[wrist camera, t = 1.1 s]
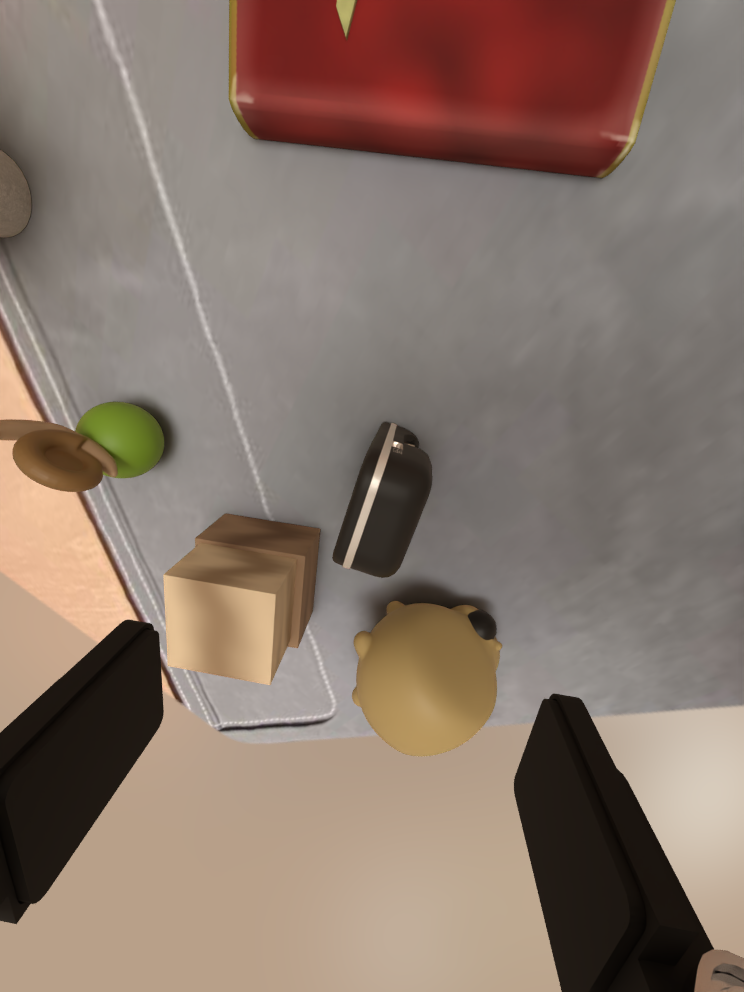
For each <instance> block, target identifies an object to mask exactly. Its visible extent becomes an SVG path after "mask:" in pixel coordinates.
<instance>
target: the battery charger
mask: <svg viewBox="0 0 744 992" xmlns="http://www.w3.org/2000/svg"><path fill="white" fill-rule="evenodd" d="M418 447H419V443H418V439H417V438H416V436H415V435H414V434H413V433H411V432H410V431H408V430H406V429H405V428H402V427H399V426H397V424H394V423H391V424H390V423H387V422H384V423H382V424H381V426H380V428H379V430H378V432H377V434H376V436H375V437H374V439H373V441H372V443H371V445H370V447H369V449H368V451H367V454H366V456H365V458H364V461H363V464H362V466H361V469H360V472H359V475H358V478H357V481H356V484H355V487H354V490H353V493H352V496H351V500H350V503H349V506H348V509H347V512H346V515H345V518H344V521H343V524H342V527H341V530H340V533H339V536H338V540H337V543H336V546H335V549H334V552H333V557H332V558H333V561H334V562H335V563H338V564H340V565H343V566H342V567H344V568H347V569H350V568H352V569H355V570H358V571H361V572H364V573H367V574H370V575H373V576H377V577H381V578H383V577H389V576H391V575H393V574H395V573H396V571H397V570H398V569H399V568H400V566H401V564H402V561H403V559H404V557H405V554H406V552H407V549H408V547H409V544H410V542H411V539H412V537H413V534H414V532H415V529H416V527H417V524H418V522H419V519H420V516H421V514H422V511H423V509H424V506H425V504H426V501H427V499H428V496H429V493H430V490H431V486H432V465H431V462H430V459H429V457H428V455H427V454H426V453H425V452H424V451H423V450H421V449H418Z"/></svg>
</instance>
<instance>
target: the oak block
mask: <svg viewBox="0 0 744 992" xmlns="http://www.w3.org/2000/svg"><path fill="white" fill-rule="evenodd" d="M296 562H297V559H294V558H288V557H282V556H276V555H270V554H264V553H259V552H253V551H247V550H241V549H235V548H229V547H223V546H217V545H211V544H205V543H200V544H199V545H198V546H196V547H195V548H194V549H193V550H192V551H191V552H189V553H188V554H187V555H186V556H185V557H184V558H182V559H181V560H180V561H179V562H178V563H177V564H175V565H174V566H173V567H172V568H171V569H170V570H168V571H167V572H166V573H165V574H164V595H165V616H166V636H167V657H168V666H171V667H176V668H182V669H187V670H192V671H198V672H203V673H208V674H214V675H219V676H224V677H230V678H235V679H240V680H246V681H251V682H256V683H262V684H267V685H271V682H272V680H273V678H274V675H275V673H276V671H277V669H278V666H279V664H280V662H281V660H282V657H283V655H284V653H285V651H286V648H287V646H288V644H289V642H290V638H291V625H292V612H293V600H294V587H295V574H296Z"/></svg>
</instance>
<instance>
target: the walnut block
mask: <svg viewBox="0 0 744 992" xmlns="http://www.w3.org/2000/svg"><path fill="white" fill-rule="evenodd" d="M319 539H320V529H319V528H313V527H306V526H300V525H294V524H288V523H281V522H275V521H269V520H263V519H257V518H250V517H244V516H238V515H232V514H224V515H223V516H222V517H220V518H219V519H218V520H217V521H216V522H214V523H213V524H212V525H211V526H210V527H208V528H207V529H206V530H205V531H203V532H202V533H201V534H200V535H199V536H197V537H196V538H195V547H196V546H198V545H199V544H200V543H205V544H211V545H217V546H223V547H229V548H235V549H241V550H247V551H253V552H259V553H264V554H270V555H276V556H282V557H288V558H294V559H297V562H296V574H295V587H294V600H293V612H292V625H291V638H290V642H289V644H288V647H294V648H298V647H299V644H300V642H301V639H302V637H303V634H304V632H305V629H306V627H307V624H308V622H309V619H310V617H311V614H312V612H313V603H314V592H315V582H316V571H317V560H318V549H319Z"/></svg>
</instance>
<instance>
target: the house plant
mask: <svg viewBox="0 0 744 992" xmlns="http://www.w3.org/2000/svg"><path fill="white" fill-rule="evenodd" d="M31 207H32V203H31V193H30V190H29V187H28V184H27V181H26V179H25V177H24V175H23V173H22V171H21V169H20V168H19V167H18V166H17V164H16V163H15V162H14V161H13V160H12V159H11V158H10V157H9V156H8V155H7V154H5V153H4V152H3V151H1V150H0V237H4V238H6V237H12V236H15V235H17V234H19V233H20V232H22V230H23V229H24V228H25V227H26V226H27V223H28V221H29V218H30V215H31Z"/></svg>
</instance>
